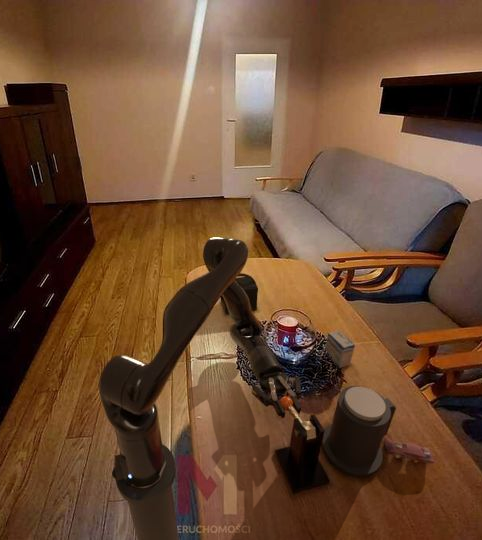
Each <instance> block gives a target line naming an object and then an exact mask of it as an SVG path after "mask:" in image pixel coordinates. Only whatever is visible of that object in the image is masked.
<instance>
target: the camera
mask: <svg viewBox="0 0 482 540" xmlns="http://www.w3.org/2000/svg"><path fill="white" fill-rule="evenodd" d="M235 281H236V282H237V283H238V284H239V285H240V286H241V287H242V289H243V290H244V291H245V292H246V294H247V296H248V298H249V302H250V305H251V309H252V312H256V311H258V296H259V295H258V293H259V286H258V285H257V282H256V279H254V278H253V276H252V275H249V274H247V273H243V272H240V274H239V275H238V276H237V277H236V278H235ZM219 299H220V304H221V307H222V308H223V311H224V314H225V315H230V314H229V311H228V308H227V305H226V302H225V300H224V298H223V296H221V297H220V298H219Z"/></svg>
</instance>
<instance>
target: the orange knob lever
mask: <svg viewBox="0 0 482 540" xmlns="http://www.w3.org/2000/svg"><path fill="white" fill-rule="evenodd" d="M279 402H280V403H281V405H282V407H283V409H284V411H285V412H289V414H290V416H292V418H293V419H296V418H298V419H299V421H300V422H301V424H302V426H303V428H304V430H305V432H306V433H307V435H308V436H307V440H309V439H313V438H316V428H315V427H314V426H313V424H312V423H311V422H310V420H306V421H305V419H303V417H302V416H301V414H298V413H297V411H296V410H295V409H294V408H293V401H292V399H291V398H290V397H287V396H284V395H283V396H282V397H280V399H279Z"/></svg>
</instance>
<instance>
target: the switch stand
mask: <svg viewBox="0 0 482 540" xmlns="http://www.w3.org/2000/svg"><path fill="white" fill-rule="evenodd" d="M309 421H310V422H311V423H312V424H313V426H314V427H315V428H316V438H313V439H309V440H307V436H308V435H307V433H306V432H305V430H304V428H303V426H302V424H301V422H300V421H299V419H298V418H296V419H295V418H293V423H292V429H291V436H290V441H289V446H287V447H282V448H278V449H275V451H274V454H275V457H276V458H277V461H278V463H279V465H280V467H281V470H282V472H283V475H284V477H285V479H286V481H287V484H288V486H289V488H290V491H291V493H292V495H295V494H298V493H301V492H305V491H309V490H312V489H315V488H318V487H322V486H326V485H329V484H330V482H331V481H330V479H329V476H328V475H327V473H326V470H325V469H324V467H323V466H322V464H321V462H320V459H319V458H320V453H321V450H322V441H323V436H324V432H325V431H324V430H325V429H324V427H323V425H322V424H321V422H320V421H319V419H318V418H317V415H315V413H314V414H310V416H309Z"/></svg>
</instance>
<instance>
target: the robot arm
mask: <svg viewBox="0 0 482 540" xmlns="http://www.w3.org/2000/svg"><path fill="white" fill-rule="evenodd" d="M202 258H203V263H204V265H205V267H206V269H207V271H208V272H207V273H204V274H202V275H201V276H198V277H196V278H195V279H193V280H191V281H189V282H187V283H185V284H184V285H183V286H181V287H180V288H179V289H178V290H177V291H176V293H175V294H174V295H173V297H172V298H171V299H170V300H169V301H168V302H167V304H166V306H165V307H164V310H163V314H162V336H161V337H162V339H161V344H160V346H159V349H158V350H157V352H156V354H155V356H154V357H153V359H152V360H151V361H150V362H149V363H147V362H145V361H142V360H140V359H138V358H137V357H134V356H130V355H128V354H118V355H115V356H113V357H112V358H111V359H109V361H107V362H106V364H105V365H104V367H103V368H102V371H101V373H100V377H99V382H98V390H99V396H100V400H101V403H102V406H103V409H104V413H105V415H106V418H107V420H108V422H109V424H110V425H111V426H112V427H113V428H114V432H115V437H116V440H117V444H118V449H119V454H117V455H114V467H113V469H112V471H111V476H112V477H113V479H116V480H117V481H120V480H122V479H125V483H126V486H127V487H128V486H132V487H134V488H137V489H148V488H151V487H153V486H154V485H156V484H157V483H158V482H159V481H160V480H161V479H162V477H163V475H164V473H165V468H166V461H165V459H164V453H163V446H162V444H163V440H162V433H161V425H160V419H159V411H158V407H157V405H156V402H157V401H158V399H159V398H160V396H161V394H162V393H163V391H164V389H165V387H166V385H167V383H168V381H169V380H170V378H171V376H172V374H173V372H174V371H175V369H176V366H177V365H178V363H179V361H180V360H181V358H182V356H183V354H184V353H185V351H186V350H187V348H188V346H189V345H190V344H191V342H192V340H193V339H194V337H195V336H196V335H197V333H198V332H199V331H200V329H201V328H202V326H203V325H204V324H205V322H206V321H207V319H208V317H209V316H210V315H211V312H212V310H213V309H214V307H215V306H216V304H217V303H218V302H219V301H220V299H221V298H220V297H221V296H223V298H224V300H225V302H226V305H227V308H228V311H229V314H228V315H229V317H230V320H231V321H232V322H233V323H232V324H231V326H230V327H229V336H230V338H231V340H232V341H233V342H234V343H235V344H236V345H237V346H238V347H239V348H241V349H242V351H243V353H244V354H245V356H246V358H247V359H248V363H249V365H250V369H251V371H252V372H253V374H254V376H255V378H256V380H257V382H258V384H253V385H252V386H251V395H253V396H254V397H255V399H256V400H258V401H259V402H260V403H261V404H262V405H264V406H265V408H266V407H267V408H268V407H270V406H271V407H273V409H274V411H275V413H276V415H277V416H278V417H280V418H281V419H285V417H286V411H284V409H283V407H282V405H281V403H280V402H279V401H280V399H279V400H278V396H277V395H282V396H283V397H284V396H287V397H290V398H291V399H292V401H293V408H294V409H295V410H296V411H297V413H298V414H299V415H301V411H302V405H301V403H300V402H299V401H300V400H301V395H302V394H301V393H302V389H301V388H302V387H301V379H300V376H299V375H295V376H294V377H289V375H287V374H286V373H285V371H284V369H283V367H282V366H281V364H280V363H279V361H278V359H277V357H276V356H275V354H274V353H273V351H272V350H271V348H270V347H269V346H268V344H267V342H266V341H265V339H264V338H263V337H262V334H263V326H262V323H261V321H260V320H259V319H258V318H257V317H256V316H255V314H254V311H252V309H251V305H250V302H249V298H248V296H247V294H246V292H245V291H244V290H243V289H242V287H241V286H240V285H239V284H238V283H237V282H236V281H235V278H238V277H237V276H238V275H239V274H240V273H242V272H243V270H244V268H245V267H246V264H247V261H248V258H249V247H248V245H247V243H246V242H245V241H243V240H240V239H237V238H228V237H211V238H209V239H208V240H207V241H206V242H205V244H204V246H203V249H202ZM289 383H290V385H291V386H292V387H291V386H290V385H289ZM292 388H294V389H293V390H294V391H293V390H292ZM266 393H267V394H268V395H267V394H266ZM116 480H115V481H116Z"/></svg>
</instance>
